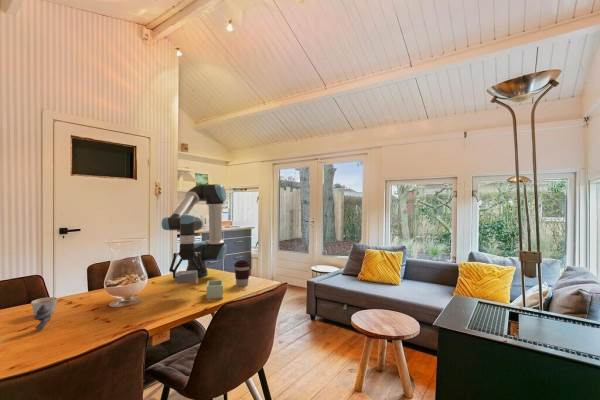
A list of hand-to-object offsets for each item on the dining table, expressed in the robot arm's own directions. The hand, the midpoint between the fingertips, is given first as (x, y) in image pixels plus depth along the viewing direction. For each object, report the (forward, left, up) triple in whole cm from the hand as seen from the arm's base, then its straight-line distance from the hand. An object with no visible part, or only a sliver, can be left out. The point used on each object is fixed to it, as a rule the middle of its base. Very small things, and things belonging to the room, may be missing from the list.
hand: (186, 283), depth 161 cm
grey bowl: (+11, -60, -8) cm, 61 cm away
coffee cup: (-18, +31, -8) cm, 37 cm away
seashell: (+30, -51, -8) cm, 60 cm away
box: (+1, +15, -7) cm, 17 cm away
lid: (0, 0, +2) cm, 2 cm away
